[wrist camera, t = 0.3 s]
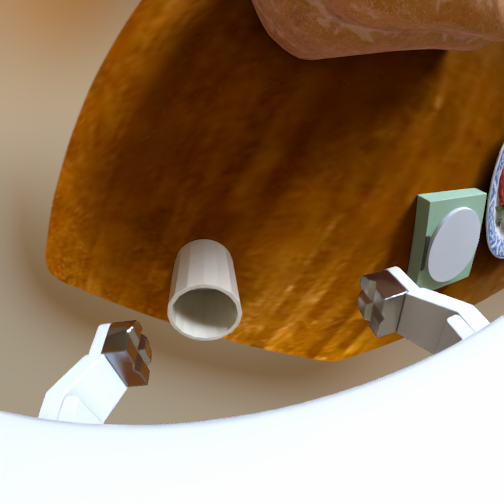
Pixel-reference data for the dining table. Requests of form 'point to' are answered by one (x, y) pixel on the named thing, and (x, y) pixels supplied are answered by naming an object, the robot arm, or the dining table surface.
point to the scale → (445, 236)
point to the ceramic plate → (496, 209)
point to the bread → (379, 25)
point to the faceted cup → (204, 292)
